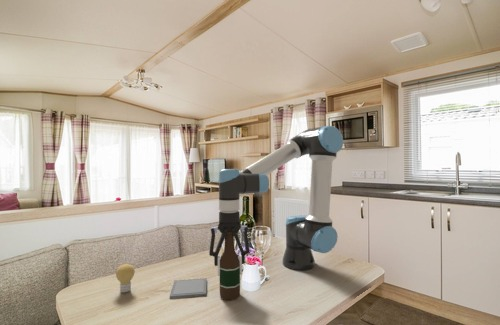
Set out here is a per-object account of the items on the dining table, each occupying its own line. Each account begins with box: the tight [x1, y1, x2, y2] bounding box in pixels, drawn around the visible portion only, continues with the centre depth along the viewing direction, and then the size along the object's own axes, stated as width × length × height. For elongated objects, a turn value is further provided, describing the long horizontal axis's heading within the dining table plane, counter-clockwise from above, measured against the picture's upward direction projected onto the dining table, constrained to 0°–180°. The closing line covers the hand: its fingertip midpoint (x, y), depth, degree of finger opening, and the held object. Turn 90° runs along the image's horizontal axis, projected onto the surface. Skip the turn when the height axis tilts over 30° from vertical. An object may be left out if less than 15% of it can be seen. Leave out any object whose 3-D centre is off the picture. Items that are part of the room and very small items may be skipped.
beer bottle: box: [219, 231, 241, 302], centre depth 96 cm, size 8×8×24 cm
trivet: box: [169, 277, 208, 299], centre depth 102 cm, size 13×13×1 cm
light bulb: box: [115, 263, 136, 294], centre depth 100 cm, size 6×6×10 cm
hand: (229, 273), depth 96 cm, fingers closed on beer bottle, 7 cm apart
